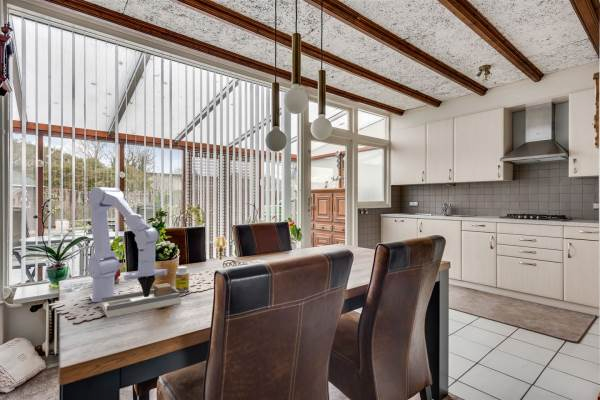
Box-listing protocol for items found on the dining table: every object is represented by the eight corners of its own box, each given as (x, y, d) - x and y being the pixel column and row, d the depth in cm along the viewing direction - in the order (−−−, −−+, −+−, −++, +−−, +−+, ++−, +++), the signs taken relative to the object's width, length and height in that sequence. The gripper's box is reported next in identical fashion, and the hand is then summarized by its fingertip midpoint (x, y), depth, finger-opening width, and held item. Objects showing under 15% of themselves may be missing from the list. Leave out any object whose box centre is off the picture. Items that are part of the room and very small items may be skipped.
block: (154, 295, 119) (154, 285, 119) (167, 292, 122) (167, 282, 122) (157, 298, 115) (158, 287, 115) (171, 295, 118) (171, 285, 119)
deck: (101, 306, 112) (101, 295, 112) (169, 294, 127) (169, 284, 127) (107, 317, 101) (107, 305, 101) (180, 303, 116) (180, 292, 116)
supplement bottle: (173, 292, 129) (173, 268, 129) (177, 288, 135) (177, 265, 135) (187, 292, 130) (187, 268, 130) (190, 288, 136) (190, 265, 136)
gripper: (127, 264, 107) (126, 303, 107) (170, 259, 117) (169, 295, 117) (123, 261, 113) (122, 297, 113) (164, 257, 122) (163, 290, 122)
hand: (146, 296), depth 115 cm, fingers closed
